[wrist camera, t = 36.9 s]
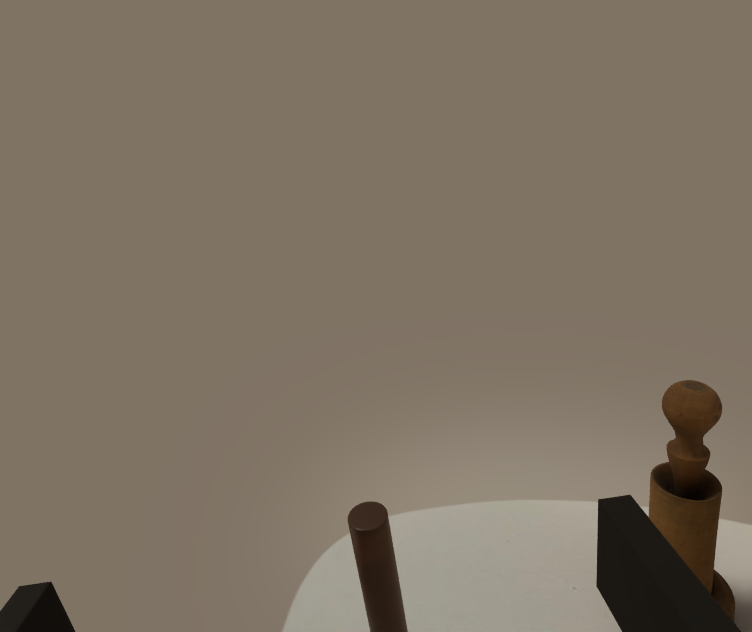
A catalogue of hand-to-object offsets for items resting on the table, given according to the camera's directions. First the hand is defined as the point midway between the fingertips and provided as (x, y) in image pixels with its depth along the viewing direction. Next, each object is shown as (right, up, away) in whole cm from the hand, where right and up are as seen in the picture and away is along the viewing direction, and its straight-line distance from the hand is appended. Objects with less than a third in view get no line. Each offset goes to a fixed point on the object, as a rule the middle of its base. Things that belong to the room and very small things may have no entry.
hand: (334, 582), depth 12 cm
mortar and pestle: (+22, -15, +23) cm, 35 cm away
